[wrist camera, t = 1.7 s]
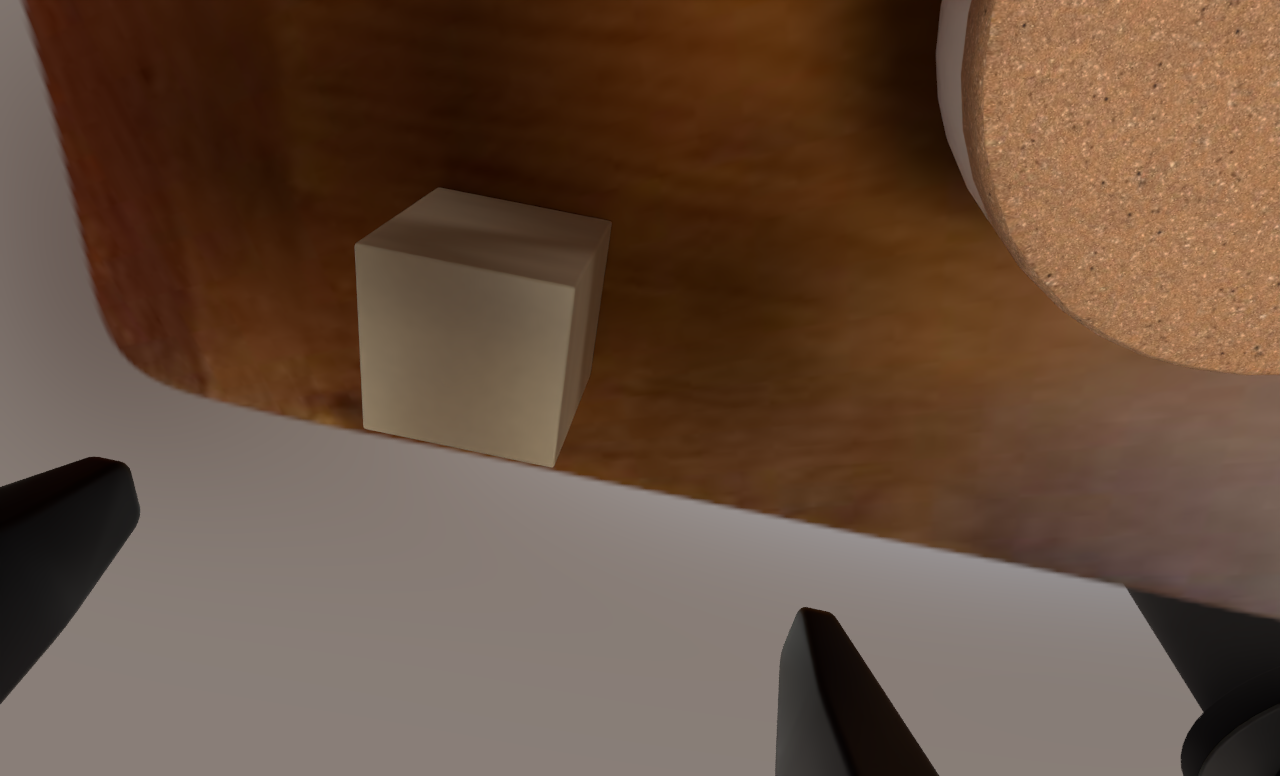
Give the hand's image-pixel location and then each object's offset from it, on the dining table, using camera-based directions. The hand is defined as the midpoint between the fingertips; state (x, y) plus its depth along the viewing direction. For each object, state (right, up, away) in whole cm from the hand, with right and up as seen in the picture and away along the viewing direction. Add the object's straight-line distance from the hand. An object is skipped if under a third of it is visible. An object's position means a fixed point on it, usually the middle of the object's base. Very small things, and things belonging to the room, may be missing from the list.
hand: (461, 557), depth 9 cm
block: (-1, +5, +12) cm, 13 cm away
